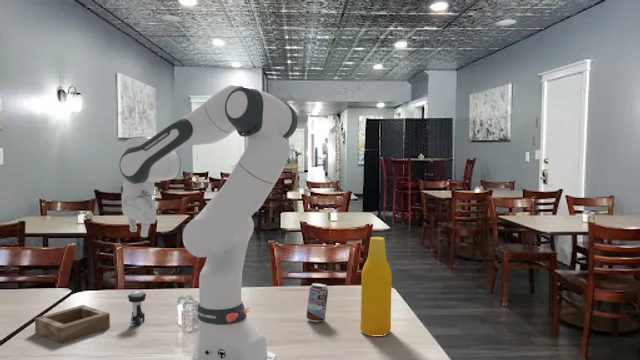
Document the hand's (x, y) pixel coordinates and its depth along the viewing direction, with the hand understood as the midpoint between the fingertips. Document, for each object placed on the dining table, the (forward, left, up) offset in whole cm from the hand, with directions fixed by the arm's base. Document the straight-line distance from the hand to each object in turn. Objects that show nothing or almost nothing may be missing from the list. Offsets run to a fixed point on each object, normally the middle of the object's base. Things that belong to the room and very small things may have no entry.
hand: (138, 234), depth 151 cm
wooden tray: (+13, +14, -29) cm, 34 cm away
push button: (+2, 0, -29) cm, 29 cm away
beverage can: (-43, -35, -29) cm, 63 cm away
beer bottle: (-63, -37, -29) cm, 79 cm away
